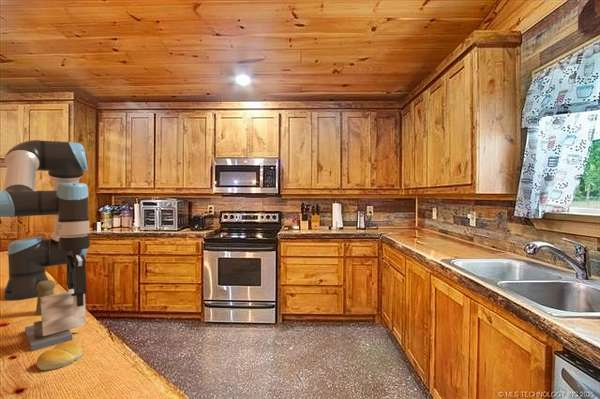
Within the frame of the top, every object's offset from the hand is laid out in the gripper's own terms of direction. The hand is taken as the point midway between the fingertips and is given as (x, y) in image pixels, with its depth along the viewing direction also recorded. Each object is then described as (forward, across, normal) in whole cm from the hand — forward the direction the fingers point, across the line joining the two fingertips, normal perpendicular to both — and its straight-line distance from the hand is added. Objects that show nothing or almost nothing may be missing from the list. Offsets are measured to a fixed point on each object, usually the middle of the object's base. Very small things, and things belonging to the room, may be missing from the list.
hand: (77, 313), depth 96 cm
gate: (+4, 0, -4) cm, 6 cm away
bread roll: (+6, +16, -6) cm, 18 cm away
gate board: (+6, -4, -6) cm, 10 cm away
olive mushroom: (+6, -29, -4) cm, 30 cm away
